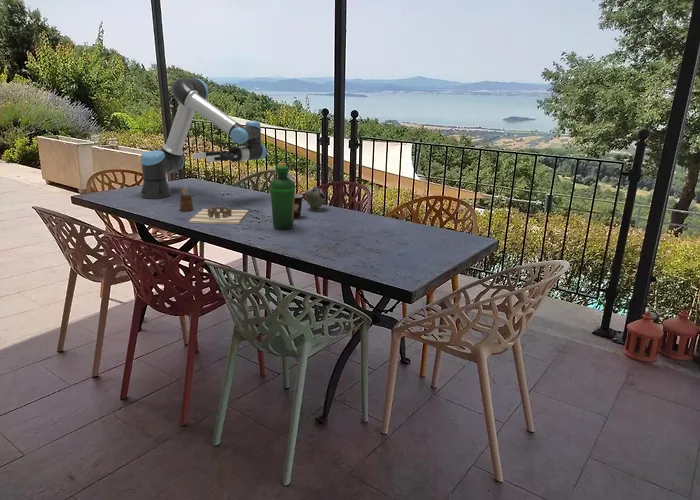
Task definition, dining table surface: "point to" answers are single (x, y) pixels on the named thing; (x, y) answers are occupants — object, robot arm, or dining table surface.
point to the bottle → (282, 199)
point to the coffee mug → (297, 205)
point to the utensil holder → (186, 201)
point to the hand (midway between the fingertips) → (200, 157)
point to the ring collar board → (219, 216)
